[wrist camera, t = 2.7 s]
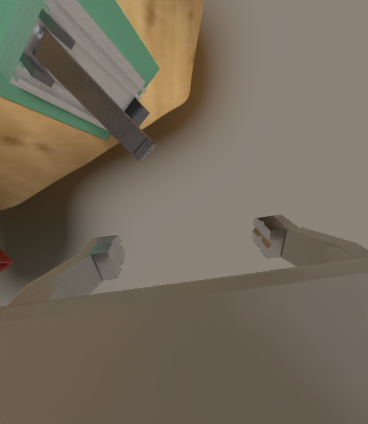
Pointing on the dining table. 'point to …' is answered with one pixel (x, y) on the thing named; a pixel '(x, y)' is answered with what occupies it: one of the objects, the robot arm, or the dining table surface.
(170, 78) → the dining table surface
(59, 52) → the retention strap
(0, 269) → the plant pot
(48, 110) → the circuit board
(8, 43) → the heat sink
